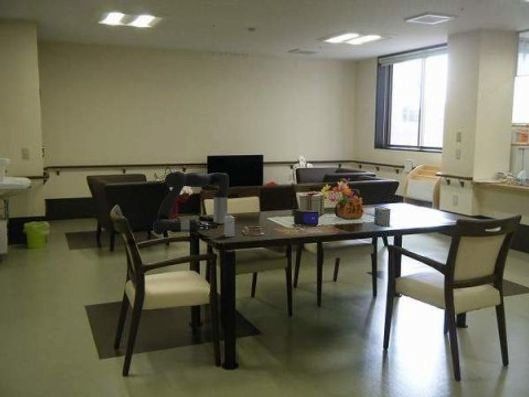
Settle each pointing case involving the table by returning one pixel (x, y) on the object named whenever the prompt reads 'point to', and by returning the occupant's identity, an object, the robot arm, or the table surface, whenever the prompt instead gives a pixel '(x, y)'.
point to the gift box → (312, 202)
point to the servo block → (229, 226)
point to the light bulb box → (382, 216)
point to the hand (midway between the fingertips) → (216, 225)
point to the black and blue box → (306, 217)
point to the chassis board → (253, 231)
